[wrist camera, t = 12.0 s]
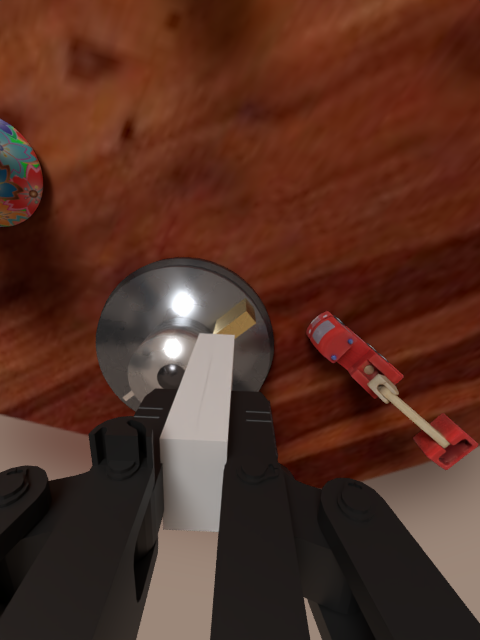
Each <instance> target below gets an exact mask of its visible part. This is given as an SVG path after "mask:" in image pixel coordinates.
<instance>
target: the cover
mask: <svg viewBox="0 0 480 640" xmlns="http://www.w3.org/2000/svg"><path fill="white" fill-rule="evenodd" d="M199 333H204V334H213V332H212V331H211V330H210V329H209V328H208V327H207V326H205V325H204V324H202V323H200V322H198V321H196V320H193V319H189V318H173V319H169V320H166V321H164V322H162V323H160V324H159V325H157V326H156V327H155V328H154V329H153V330H152V331H151V333H150V334H149V335H148V336H147V338H146V339H145V340H144V341H143V342H142V344H141V345H140V346H139V347H138V349H137V350H136V351H135V352H134V354H133V355H132V357H131V359H130V362H129V365H128V381H129V385H130V388H131V390H132V392H133V393H134V395H135V396H136V398H137V399H138V400H139V401H140V402H142V400H143V399H144V397H145V396H146V395H147V394H149V393H150V392H151V391H153V390H154V389H155V388H162V389H179V386H180V383H181V381H182V378H183V375H184V373H185V370H186V368H187V365H188V362H189V360H190V357H191V354H192V352H193V349H194V346H195V344H196V341H197V339H198V336H199Z"/></svg>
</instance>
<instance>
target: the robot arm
mask: <svg viewBox="0 0 480 640" xmlns="http://www.w3.org/2000/svg"><path fill="white" fill-rule="evenodd" d="M234 338H235V335H225V334H204V333H199V336H198V339H197V341H196V344H195V346H194V349H193V352H192V354H191V357H190V360H189V362H188V365H187V368H186V370H185V373H184V375H183V378H182V381H181V383H180V386H179V389H162V388H155V389H154V390H153V391H151V392H150V393H149V394H147V395H146V396H145V397H144V399H143V400H142V402H141V404H140V406H139V409H137V411H136V413H135V415H134V417H133V416H127V417H118V418H114V419H111V420H107V421H105V422H104V423H102V424H100V425H98V426H96V427H95V428H94V429H93V430H92V431H91V432H90V433H89V441H90V449H91V457H92V465H93V466H92V468H91V469H90V471H88V472H86V473H83V474H79V475H76V476H71V477H66V478H62V479H56V480H51V481H48V477H47V474H46V472H45V470H43V469H41V468H39V467H38V466H20V467H15V468H11V469H8V470H6V471H3V472H1V473H0V640H136V638H137V633H138V629H139V626H140V621H141V617H142V613H143V610H144V606H145V602H146V598H147V594H148V590H149V586H150V582H151V578H152V574H153V570H154V566H155V562H156V558H157V554H158V531H159V528H160V524H161V520H162V517H163V529H167V530H168V529H169V530H190V531H191V530H192V531H213V532H219V534H218V547H217V560H216V574H215V585H214V586H215V587H214V598H213V610H212V624H211V636H210V640H310V635H309V630H308V623H307V616H306V610H305V604H304V598H303V597H305V598H307V599H308V603H309V605H310V608H311V611H312V613H313V616H314V619H315V621H316V624H317V627H318V629H319V632H320V635H321V638H322V640H480V623H479V622H478V621H477V619H476V618H475V617H474V616H473V614H472V613H471V611H469V609H468V608H467V606H465V604H464V602H463V601H462V600H461V599H460V597H459V596H458V595H457V593H456V592H455V591H454V589H453V588H452V587H451V586H450V584H449V583H448V582H447V580H446V579H445V578H444V577H443V575H442V574H441V573H440V571H439V570H438V569H437V568H436V566H435V565H434V564H433V562H432V561H431V560H430V558H429V557H428V556H427V555H426V553H425V552H424V551H423V550H422V548H421V547H420V546H419V544H418V543H417V542H416V540H415V539H414V538H413V537H412V535H411V534H410V533H409V531H408V530H407V529H406V527H405V526H404V525H403V524H402V522H401V521H400V520H399V518H398V517H397V516H396V514H395V513H394V512H393V511H392V509H391V508H390V507H389V505H388V504H387V503H386V502H385V500H384V499H383V498H382V497H381V496H380V495H379V494H378V493H377V492H376V491H375V490H374V489H372V488H370V487H369V486H367V485H366V484H364V483H362V482H360V481H356V480H353V479H350V478H336V479H334V480H331V481H328V482H327V483H326V484H325V486H324V487H323V488H322V490H321V489H318V488H315V487H312V486H309V485H306V484H303V483H301V482H298V481H296V480H295V479H293V478H291V477H290V476H288V475H287V474H286V473H285V472H284V471H283V470H282V468H281V466H280V464H279V463H278V461H277V457H276V451H275V444H274V437H273V430H272V423H271V416H270V409H269V403H268V400H267V399H266V398H265V396H264V395H263V394H262V393H261V392H250V391H232V381H233V359H234Z"/></svg>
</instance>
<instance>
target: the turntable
mask: <svg viewBox="0 0 480 640" xmlns="http://www.w3.org/2000/svg"><path fill="white" fill-rule="evenodd" d="M173 318H189V319H193V320H196V321H198V322H200V323H202V324H204V325H205V326H207V327H208V328H209V329H210V330H211V331H212V332H213V334H225V335H235V338H234V359H233V381H232V391H250V392H258V391H259V390H260V388H261V386H262V384H263V382H264V380H265V377H266V375H267V371H268V367H269V362H270V342H269V337H268V332H267V328H266V324H265V321H264V319H263V316H262V314H261V312H260V310H259V308H258V306H257V305H256V304H255V302H254V301H253V299H252V298H251V297H250V296H249V295H248V293H247V292H246V291H245V290H244V289H243V288H241V287H240V286H239V285H238V284H237V283H235V282H234V281H233V280H231V279H229V278H228V277H226V276H225V275H222V274H220V273H218V272H216V271H214V270H210V269H207V268H204V267H199V266H194V265H180V264H179V265H168V266H163V267H159V268H155V269H152V270H150V271H147V272H145V273H143V274H141V275H139V276H137V277H136V278H134V279H132V280H130V281H129V282H127V283H126V284H125V285H123V286H122V287H121V288H120V289H119V290H118V291H117V292H116V293H115V294H114V295H113V296H112V297H111V299H110V300H109V302H108V303H107V304H106V306H105V308H104V310H103V312H102V314H101V317H100V320H99V323H98V327H97V333H96V351H97V357H98V361H99V365H100V368H101V370H102V373H103V375H104V377H105V379H106V381H107V383H108V384H109V386H110V387H111V389H112V390H113V391H114V393H115V394H116V395H117V396H118V397H119V398H120V399H121V400H122V401H123V402H124V403H125V404H126V405H128V406H129V407H130V408H131V409H133V410H134V411H137V409H139V406H140V404H141V402H140V401H139V400H138V399H137V398H136V396H135V395H134V393H133V392H132V390H131V388H130V385H129V381H128V365H129V362H130V359H131V357H132V355H133V354H134V352H135V351H136V350H137V349H138V347H139V346H140V345H141V344H142V342H143V341H144V340H145V339H146V338H147V336H148V335H149V334H150V333H151V331H152V330H153V329H154V328H155V327H156V326H157V325H159V324H160V323H162V322H164V321H166V320H169V319H173Z"/></svg>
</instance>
